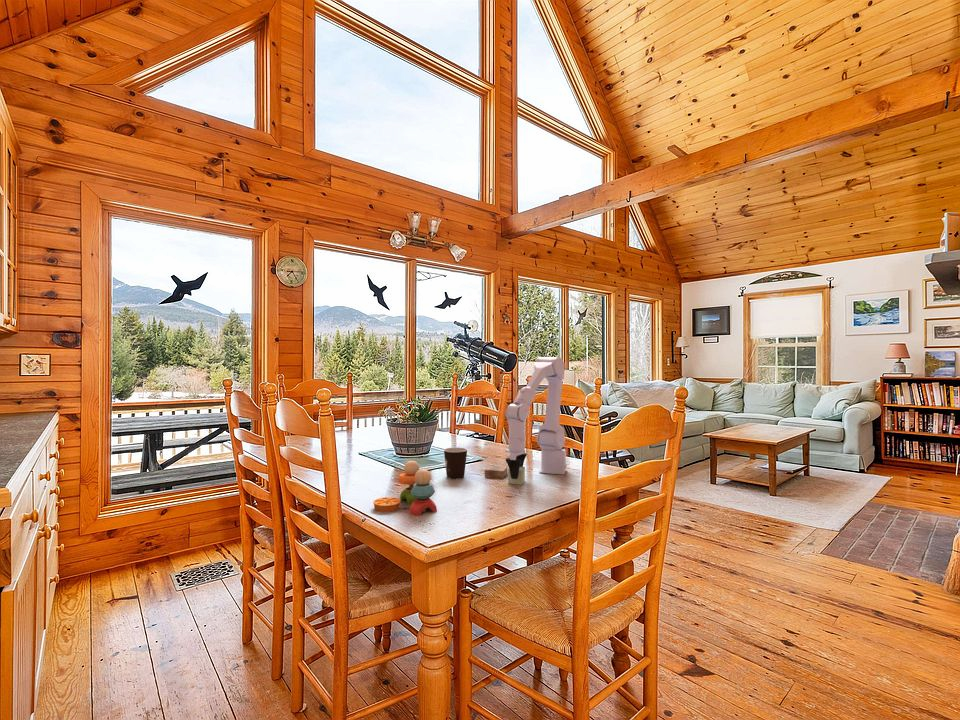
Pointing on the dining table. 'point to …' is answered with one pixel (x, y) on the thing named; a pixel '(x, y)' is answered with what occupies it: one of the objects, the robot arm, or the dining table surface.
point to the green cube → (520, 477)
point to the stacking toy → (411, 492)
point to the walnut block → (496, 471)
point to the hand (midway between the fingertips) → (516, 476)
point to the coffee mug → (455, 462)
